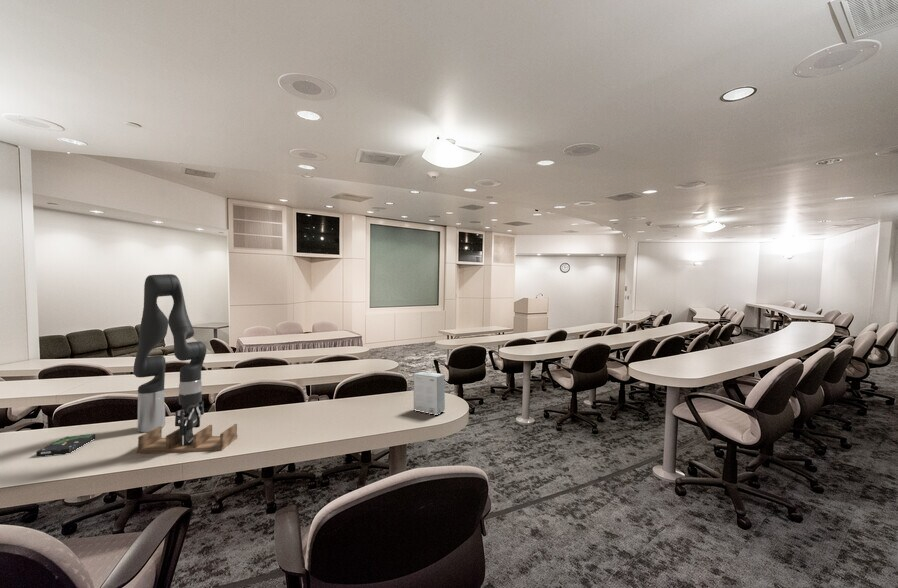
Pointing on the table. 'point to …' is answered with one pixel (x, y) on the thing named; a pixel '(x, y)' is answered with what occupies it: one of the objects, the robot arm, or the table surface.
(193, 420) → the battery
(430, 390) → the hard drive box
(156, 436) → the divider rack
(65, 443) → the disk drive
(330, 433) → the table surface
